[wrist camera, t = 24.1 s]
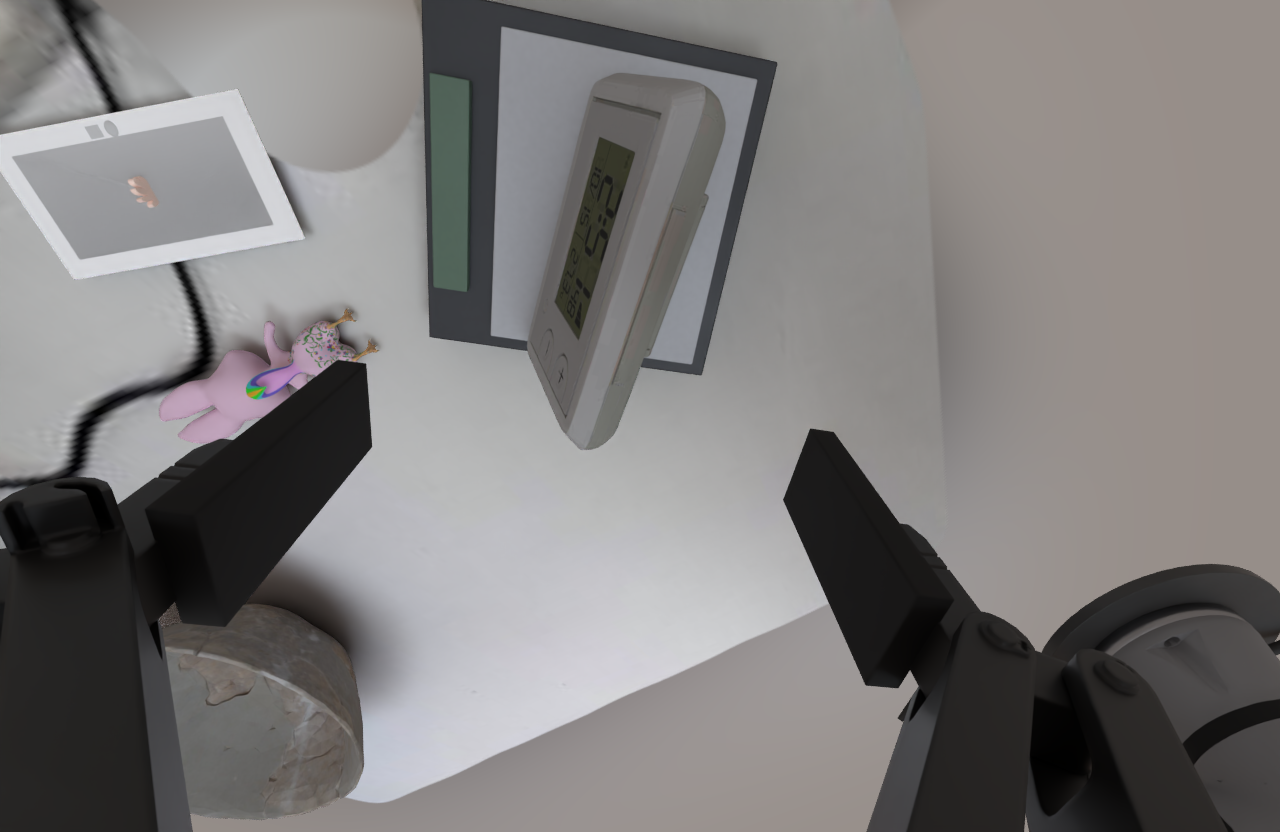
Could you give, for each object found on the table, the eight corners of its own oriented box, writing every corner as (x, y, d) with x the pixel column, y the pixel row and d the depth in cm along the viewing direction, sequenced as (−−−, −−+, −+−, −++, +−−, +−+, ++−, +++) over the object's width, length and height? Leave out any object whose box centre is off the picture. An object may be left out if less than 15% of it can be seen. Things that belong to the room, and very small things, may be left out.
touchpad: (314, 235, 33) (295, 242, 31) (90, 275, 33) (57, 284, 31) (250, 90, 29) (224, 87, 27) (-1, 138, 30) (-44, 139, 28)
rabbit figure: (342, 283, 35) (149, 381, 36) (308, 301, 30) (81, 417, 30) (399, 360, 38) (219, 451, 38) (376, 390, 33) (168, 495, 33)
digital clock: (610, 53, 26) (605, 6, 17) (755, 155, 28) (823, 165, 19) (484, 325, 32) (428, 402, 23) (611, 390, 35) (608, 483, 25)
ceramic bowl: (367, 734, 57) (321, 842, 48) (133, 669, 51) (31, 780, 42) (442, 609, 48) (402, 714, 40) (171, 513, 42) (53, 612, 33)
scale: (766, 67, 29) (782, 59, 26) (696, 361, 38) (703, 380, 35) (436, -2, 27) (415, -19, 24) (441, 324, 36) (424, 341, 33)
